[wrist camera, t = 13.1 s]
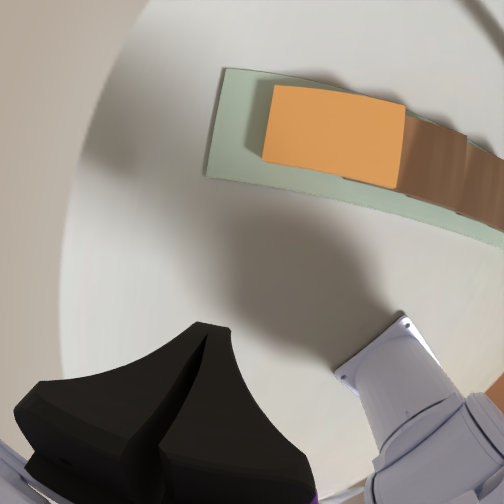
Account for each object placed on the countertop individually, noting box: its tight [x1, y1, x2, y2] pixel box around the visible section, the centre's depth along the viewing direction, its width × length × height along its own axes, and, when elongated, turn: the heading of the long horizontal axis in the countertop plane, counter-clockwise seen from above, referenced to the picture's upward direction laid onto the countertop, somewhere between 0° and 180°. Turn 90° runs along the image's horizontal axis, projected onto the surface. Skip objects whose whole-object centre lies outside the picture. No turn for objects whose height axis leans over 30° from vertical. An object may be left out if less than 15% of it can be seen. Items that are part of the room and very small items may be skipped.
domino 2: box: [407, 144, 504, 228], centre depth 15 cm, size 2×5×8 cm
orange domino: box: [262, 85, 406, 189], centre depth 15 cm, size 2×5×8 cm
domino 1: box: [343, 115, 467, 210], centre depth 15 cm, size 2×5×8 cm
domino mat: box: [206, 68, 504, 249], centre depth 17 cm, size 34×8×1 cm, turn 80°
